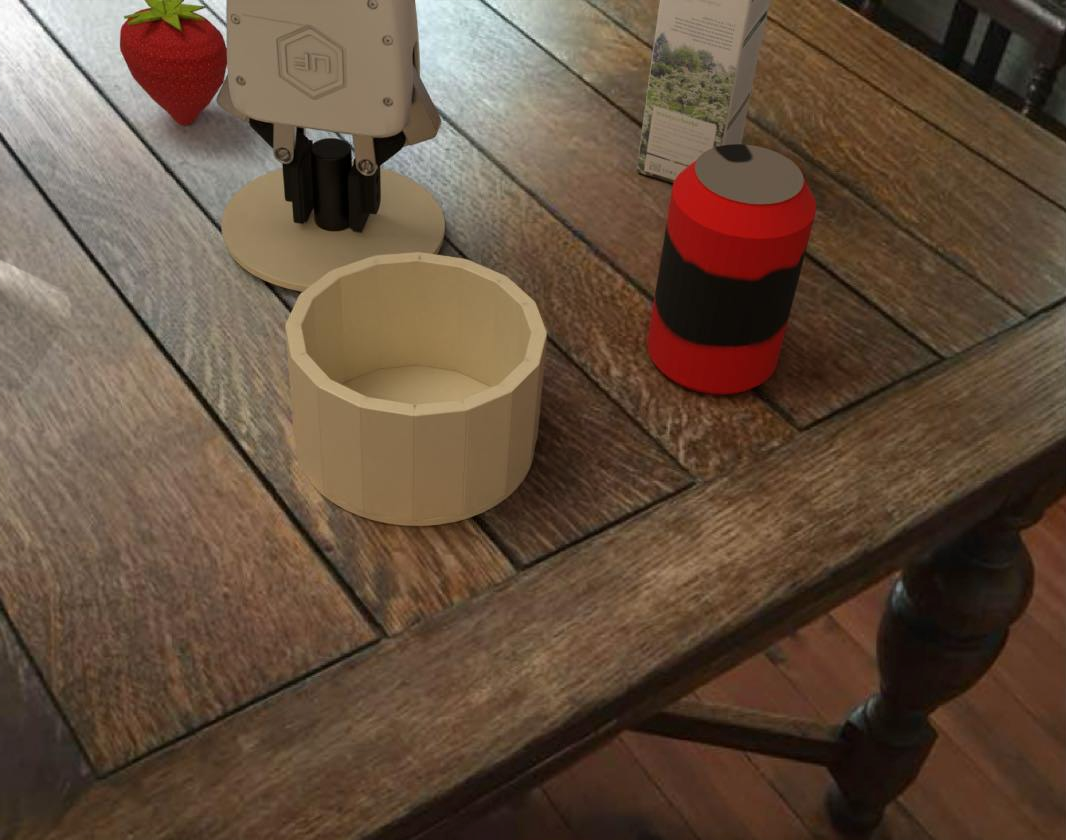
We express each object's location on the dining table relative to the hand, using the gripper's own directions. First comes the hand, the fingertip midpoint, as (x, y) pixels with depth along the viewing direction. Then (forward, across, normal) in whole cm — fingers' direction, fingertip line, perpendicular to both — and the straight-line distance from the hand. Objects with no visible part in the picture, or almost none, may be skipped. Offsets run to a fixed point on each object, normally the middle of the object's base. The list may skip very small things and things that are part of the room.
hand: (333, 213), depth 83 cm
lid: (+1, 0, 0) cm, 1 cm away
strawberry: (+2, -13, +10) cm, 17 cm away
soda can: (+2, +24, -6) cm, 25 cm away
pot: (+2, +9, -17) cm, 19 cm away
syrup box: (+2, +21, +14) cm, 25 cm away
